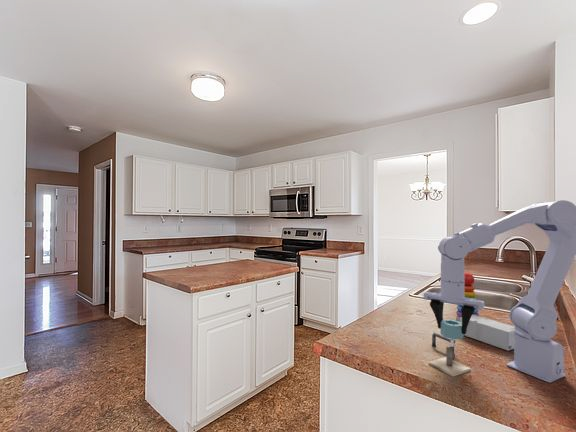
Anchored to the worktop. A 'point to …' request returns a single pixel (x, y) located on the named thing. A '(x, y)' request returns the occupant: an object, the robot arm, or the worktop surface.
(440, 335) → the handle
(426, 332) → the worktop surface
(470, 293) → the stacking toy
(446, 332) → the ring
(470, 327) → the skincare box
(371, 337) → the worktop surface
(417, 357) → the worktop surface
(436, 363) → the peg stand
